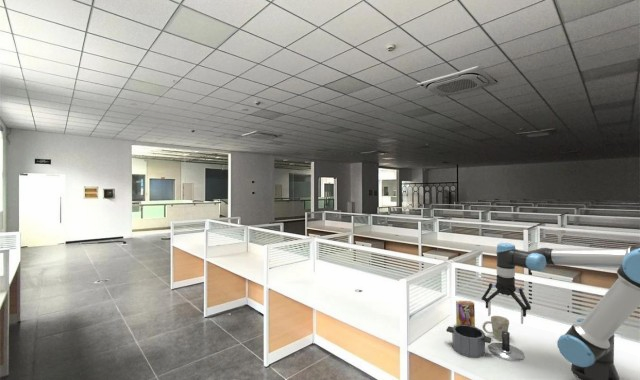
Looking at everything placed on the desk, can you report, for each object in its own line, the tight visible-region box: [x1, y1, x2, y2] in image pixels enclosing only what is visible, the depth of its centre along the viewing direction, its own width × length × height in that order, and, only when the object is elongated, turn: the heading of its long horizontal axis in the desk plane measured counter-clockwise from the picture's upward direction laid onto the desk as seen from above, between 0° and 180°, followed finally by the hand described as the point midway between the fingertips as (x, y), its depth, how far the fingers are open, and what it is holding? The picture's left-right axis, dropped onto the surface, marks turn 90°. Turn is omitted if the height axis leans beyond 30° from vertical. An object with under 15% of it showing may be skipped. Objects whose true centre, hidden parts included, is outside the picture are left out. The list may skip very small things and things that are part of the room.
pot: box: [445, 325, 493, 359], centre depth 148 cm, size 20×14×9 cm
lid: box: [487, 331, 525, 362], centre depth 145 cm, size 15×15×10 cm
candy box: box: [455, 300, 476, 327], centre depth 169 cm, size 9×4×15 cm, turn 85°
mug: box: [482, 315, 510, 341], centre depth 159 cm, size 8×13×10 cm, turn 78°
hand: (505, 318), depth 145 cm, fingers open, 13 cm apart
